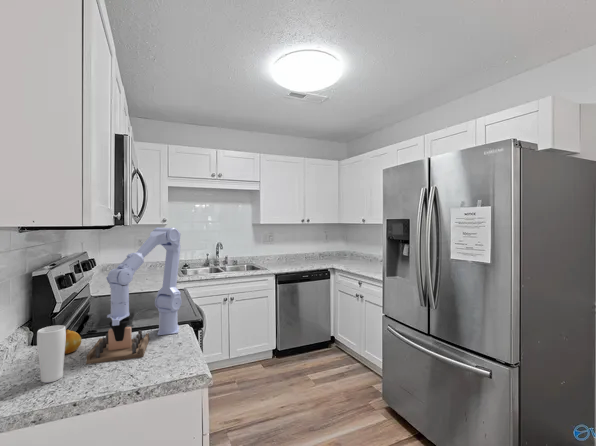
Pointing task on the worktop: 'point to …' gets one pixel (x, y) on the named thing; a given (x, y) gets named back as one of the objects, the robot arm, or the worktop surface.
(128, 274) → the robot arm
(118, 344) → the pink square slab
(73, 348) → the fruit
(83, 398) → the worktop surface
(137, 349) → the rack
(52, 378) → the drinking glass
